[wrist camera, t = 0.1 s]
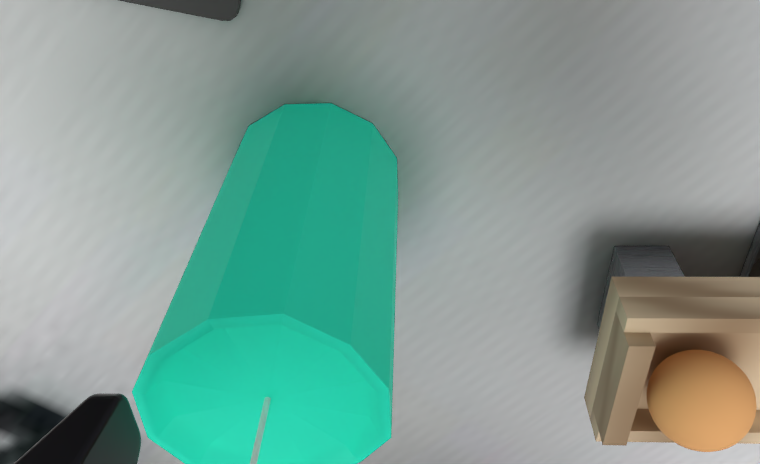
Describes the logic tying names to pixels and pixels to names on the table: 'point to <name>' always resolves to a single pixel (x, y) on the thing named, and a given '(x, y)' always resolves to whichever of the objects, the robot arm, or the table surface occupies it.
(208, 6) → the calculator
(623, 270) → the stand
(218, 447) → the candle
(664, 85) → the table surface
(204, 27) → the table surface
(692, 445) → the ball
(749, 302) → the lever
